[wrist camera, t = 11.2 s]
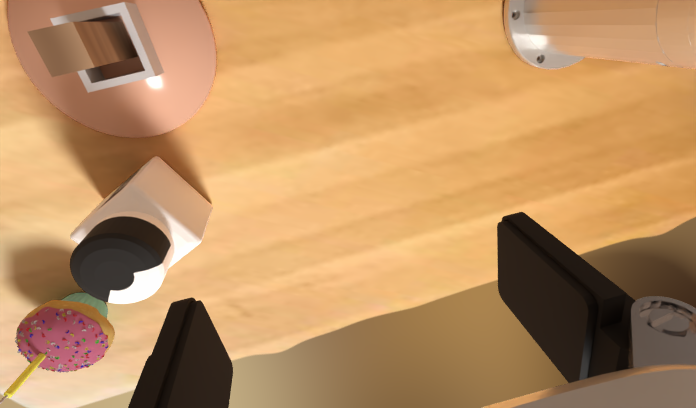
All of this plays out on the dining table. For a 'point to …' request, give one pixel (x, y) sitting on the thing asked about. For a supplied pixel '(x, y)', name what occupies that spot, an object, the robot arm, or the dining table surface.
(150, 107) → the clip base
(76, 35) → the wooden square post
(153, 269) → the container
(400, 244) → the dining table surface
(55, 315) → the cupcake
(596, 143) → the dining table surface
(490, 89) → the dining table surface
